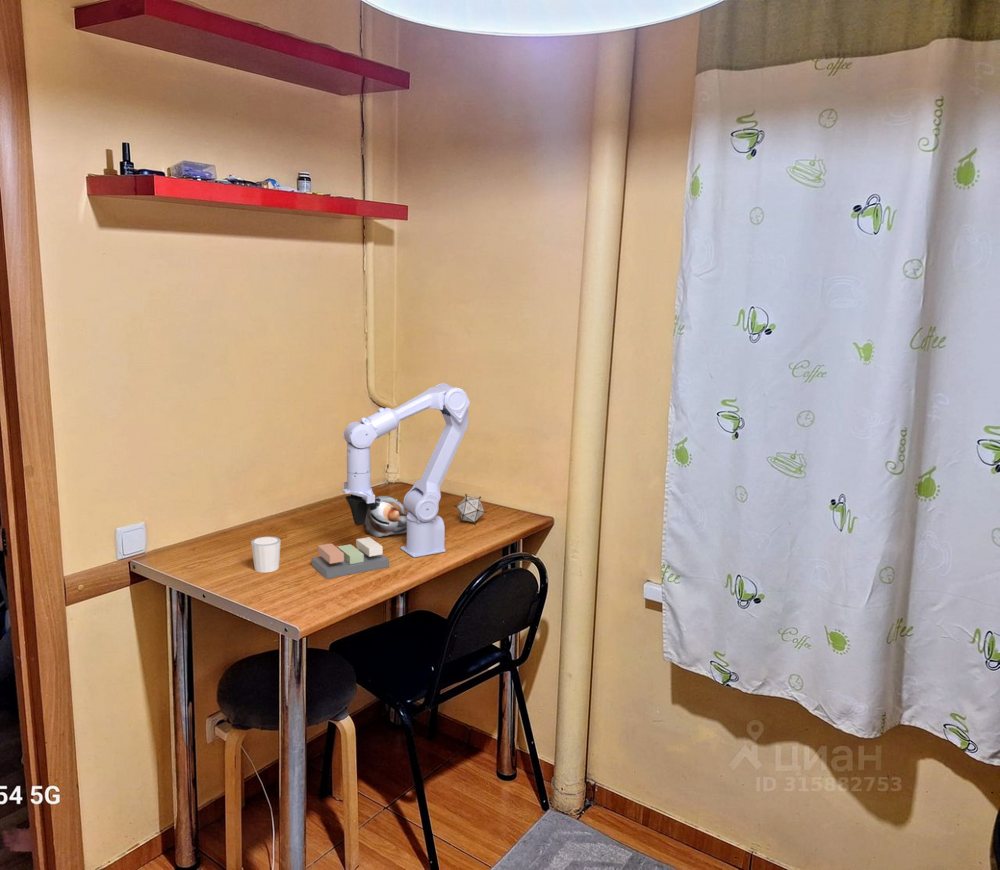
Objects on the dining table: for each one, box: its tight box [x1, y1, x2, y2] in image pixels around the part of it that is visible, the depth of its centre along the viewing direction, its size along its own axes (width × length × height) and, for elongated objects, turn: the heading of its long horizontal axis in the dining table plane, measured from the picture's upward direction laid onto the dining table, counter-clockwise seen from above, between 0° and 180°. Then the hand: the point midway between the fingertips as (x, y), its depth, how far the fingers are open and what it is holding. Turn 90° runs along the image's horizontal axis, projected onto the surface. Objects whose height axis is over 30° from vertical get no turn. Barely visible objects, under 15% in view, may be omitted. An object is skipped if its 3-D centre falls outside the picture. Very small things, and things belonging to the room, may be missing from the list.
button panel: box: [311, 549, 390, 580], centre depth 194 cm, size 16×10×2 cm, turn 123°
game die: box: [453, 493, 488, 526], centre depth 231 cm, size 9×8×10 cm
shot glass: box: [250, 536, 282, 573], centre depth 191 cm, size 7×7×7 cm
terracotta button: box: [317, 543, 344, 564], centre depth 191 cm, size 4×8×2 cm, turn 33°
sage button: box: [336, 543, 364, 564], centre depth 194 cm, size 4×8×2 cm, turn 33°
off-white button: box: [355, 536, 384, 557], centre depth 196 cm, size 4×8×2 cm, turn 33°
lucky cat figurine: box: [363, 495, 408, 538], centre depth 218 cm, size 15×12×14 cm
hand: (359, 524), depth 197 cm, fingers closed
